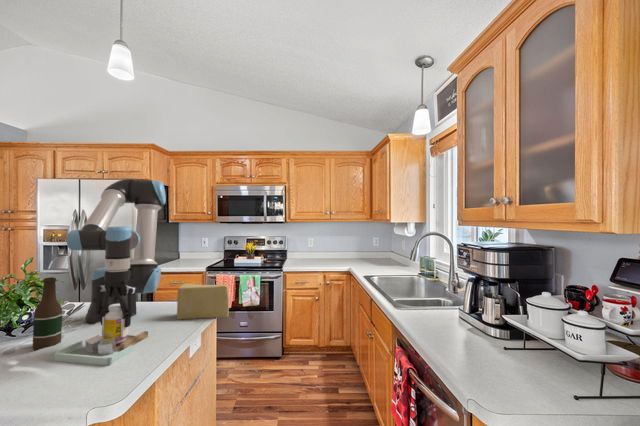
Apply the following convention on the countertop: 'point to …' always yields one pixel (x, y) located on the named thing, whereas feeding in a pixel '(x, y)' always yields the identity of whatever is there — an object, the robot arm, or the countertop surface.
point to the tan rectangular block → (202, 301)
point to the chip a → (93, 343)
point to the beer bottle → (47, 318)
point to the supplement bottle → (114, 323)
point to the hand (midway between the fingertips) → (115, 334)
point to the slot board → (131, 340)
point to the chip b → (107, 346)
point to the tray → (64, 356)
